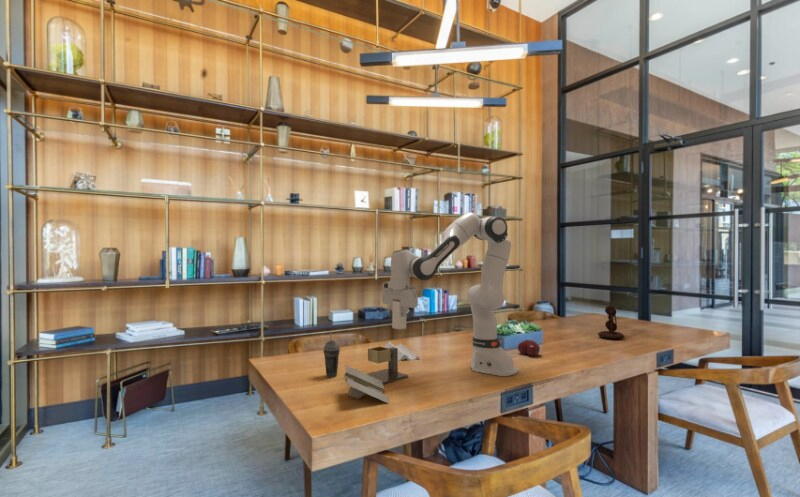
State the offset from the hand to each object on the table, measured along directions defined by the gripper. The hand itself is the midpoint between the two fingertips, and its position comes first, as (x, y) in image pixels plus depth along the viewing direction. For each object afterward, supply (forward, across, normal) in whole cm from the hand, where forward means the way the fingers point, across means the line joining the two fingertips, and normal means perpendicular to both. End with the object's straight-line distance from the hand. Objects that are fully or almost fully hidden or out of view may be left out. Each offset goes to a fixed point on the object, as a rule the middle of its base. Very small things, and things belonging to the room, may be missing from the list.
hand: (399, 315), depth 180 cm
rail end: (+6, 0, 0) cm, 6 cm away
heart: (+25, -24, -74) cm, 82 cm away
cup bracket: (+26, 0, +8) cm, 28 cm away
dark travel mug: (+27, +18, +23) cm, 40 cm away
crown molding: (+27, +28, -27) cm, 47 cm away
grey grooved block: (+27, -13, +28) cm, 41 cm away
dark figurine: (+23, -38, -149) cm, 156 cm away
